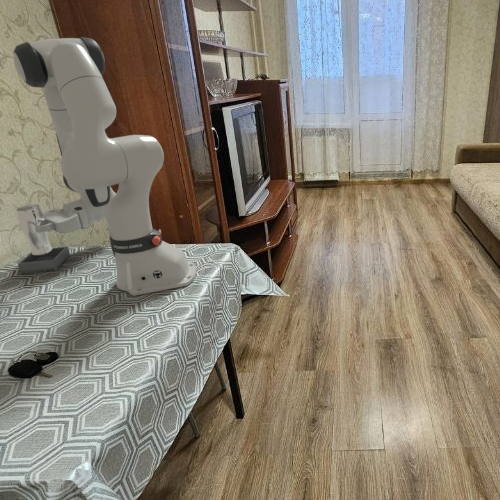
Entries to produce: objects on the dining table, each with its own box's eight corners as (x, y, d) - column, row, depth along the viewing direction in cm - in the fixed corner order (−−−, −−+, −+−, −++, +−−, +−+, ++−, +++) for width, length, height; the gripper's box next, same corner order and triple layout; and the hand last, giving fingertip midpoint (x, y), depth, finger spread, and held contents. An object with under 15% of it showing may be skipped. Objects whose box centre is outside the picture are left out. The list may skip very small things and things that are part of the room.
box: (70, 255, 129) (67, 246, 127) (57, 270, 118) (53, 260, 117) (37, 259, 128) (34, 249, 127) (21, 274, 118) (17, 264, 117)
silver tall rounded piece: (39, 247, 125) (25, 204, 119) (58, 247, 124) (45, 203, 118) (25, 256, 119) (9, 211, 113) (45, 256, 118) (30, 211, 112)
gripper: (58, 201, 132) (16, 213, 123) (86, 210, 119) (41, 224, 110) (63, 218, 135) (22, 231, 125) (91, 229, 122) (47, 243, 113)
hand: (31, 228), depth 118 cm, fingers closed on silver tall rounded piece, 6 cm apart
